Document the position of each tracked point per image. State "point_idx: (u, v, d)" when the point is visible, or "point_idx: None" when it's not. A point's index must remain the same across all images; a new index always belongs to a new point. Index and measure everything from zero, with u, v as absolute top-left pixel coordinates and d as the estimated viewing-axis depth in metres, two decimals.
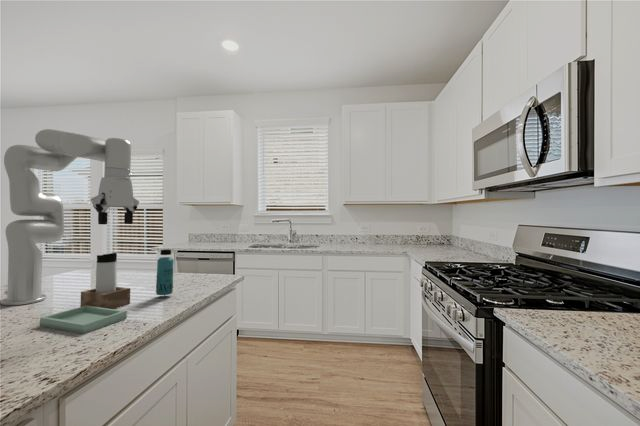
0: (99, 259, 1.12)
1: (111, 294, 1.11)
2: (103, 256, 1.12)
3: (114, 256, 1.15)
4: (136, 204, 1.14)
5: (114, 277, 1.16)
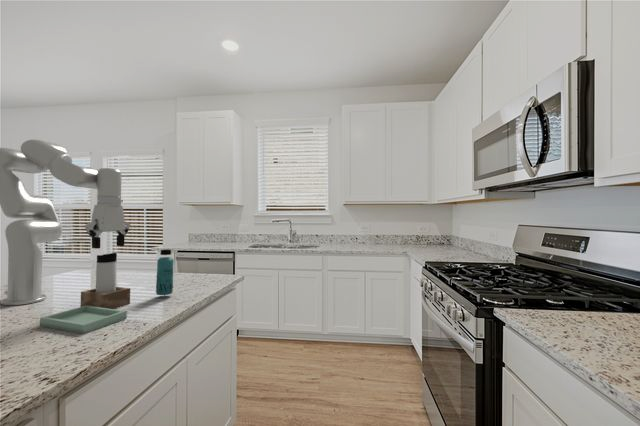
0: (99, 259, 1.12)
1: (111, 294, 1.11)
2: (103, 256, 1.12)
3: (114, 256, 1.15)
4: (127, 227, 1.22)
5: (114, 277, 1.16)
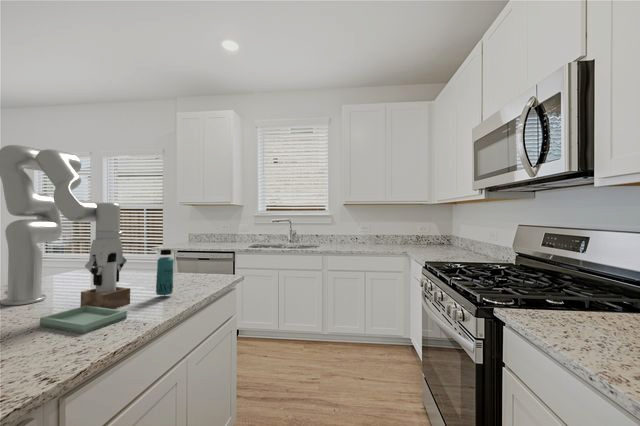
0: None
1: (111, 294, 1.11)
2: None
3: (114, 256, 1.15)
4: (123, 262, 1.21)
5: (114, 277, 1.15)
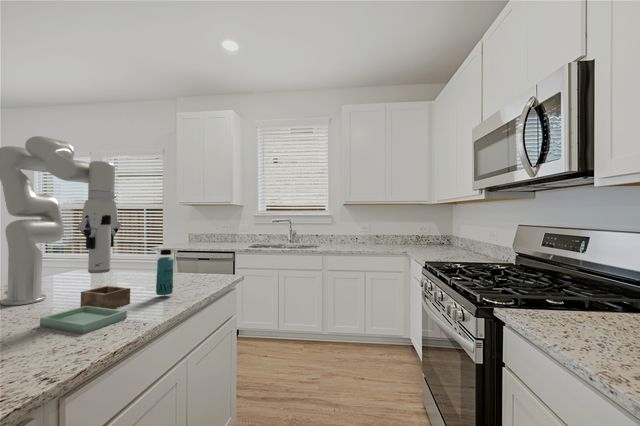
0: None
1: (111, 294, 1.11)
2: None
3: (108, 219, 1.08)
4: (118, 227, 1.14)
5: (109, 241, 1.09)
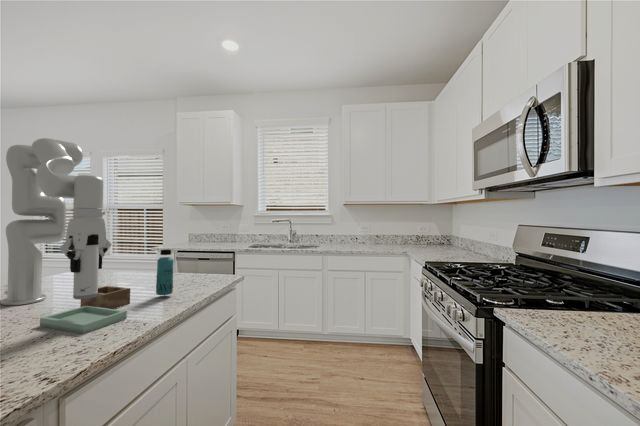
0: None
1: (111, 294, 1.11)
2: None
3: (96, 238, 0.98)
4: (107, 246, 1.04)
5: (96, 263, 0.98)
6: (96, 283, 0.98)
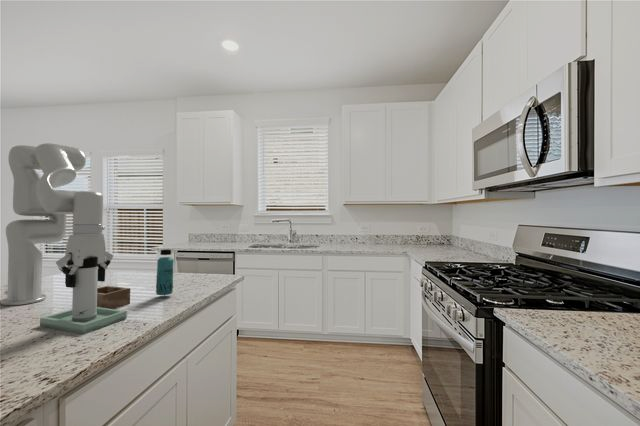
0: None
1: (111, 294, 1.11)
2: None
3: (94, 260, 0.98)
4: (109, 258, 1.05)
5: (95, 285, 0.98)
6: (95, 305, 0.98)
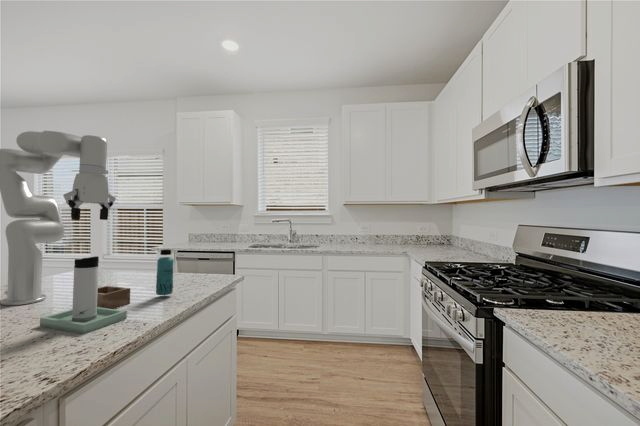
0: (76, 264, 0.95)
1: (111, 294, 1.11)
2: (82, 260, 0.95)
3: (95, 260, 0.98)
4: (112, 200, 1.16)
5: (96, 285, 0.98)
6: (95, 305, 0.99)
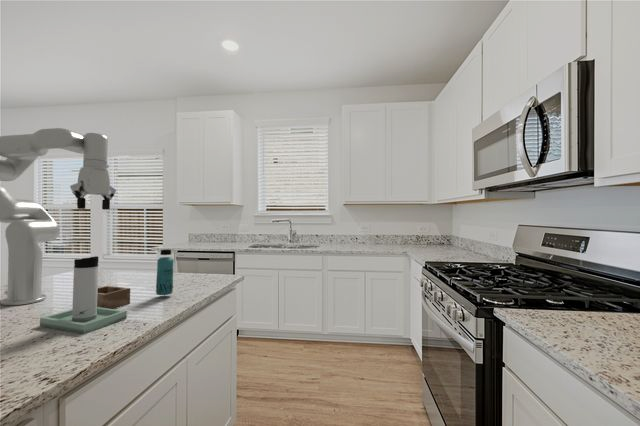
0: (76, 264, 0.95)
1: (111, 294, 1.11)
2: (81, 260, 0.95)
3: (95, 260, 0.98)
4: (113, 192, 1.27)
5: (95, 285, 0.98)
6: (95, 305, 0.99)
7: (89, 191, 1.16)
